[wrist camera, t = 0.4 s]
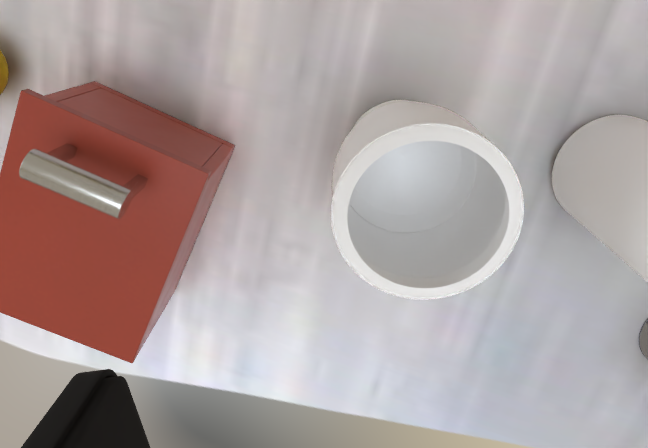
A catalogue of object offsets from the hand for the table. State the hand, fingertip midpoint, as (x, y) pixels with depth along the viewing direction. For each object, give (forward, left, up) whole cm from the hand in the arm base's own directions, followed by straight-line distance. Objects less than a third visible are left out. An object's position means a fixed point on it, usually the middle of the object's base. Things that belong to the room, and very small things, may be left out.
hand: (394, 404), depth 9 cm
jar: (+5, +3, -35) cm, 35 cm away
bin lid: (+4, -19, -25) cm, 31 cm away
